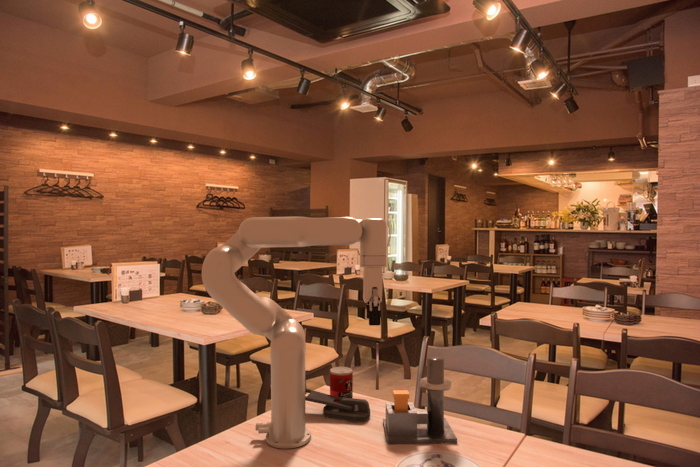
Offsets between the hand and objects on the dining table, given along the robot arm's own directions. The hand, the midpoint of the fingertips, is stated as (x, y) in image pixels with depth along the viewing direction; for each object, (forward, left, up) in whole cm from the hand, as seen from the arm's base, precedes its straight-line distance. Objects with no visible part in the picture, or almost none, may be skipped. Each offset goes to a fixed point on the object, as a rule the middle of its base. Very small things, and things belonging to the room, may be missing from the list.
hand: (373, 321), depth 132 cm
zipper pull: (-12, +15, -33) cm, 38 cm away
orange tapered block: (+8, +1, -31) cm, 32 cm away
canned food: (-9, +25, -32) cm, 42 cm away
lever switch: (+13, +1, -32) cm, 35 cm away
